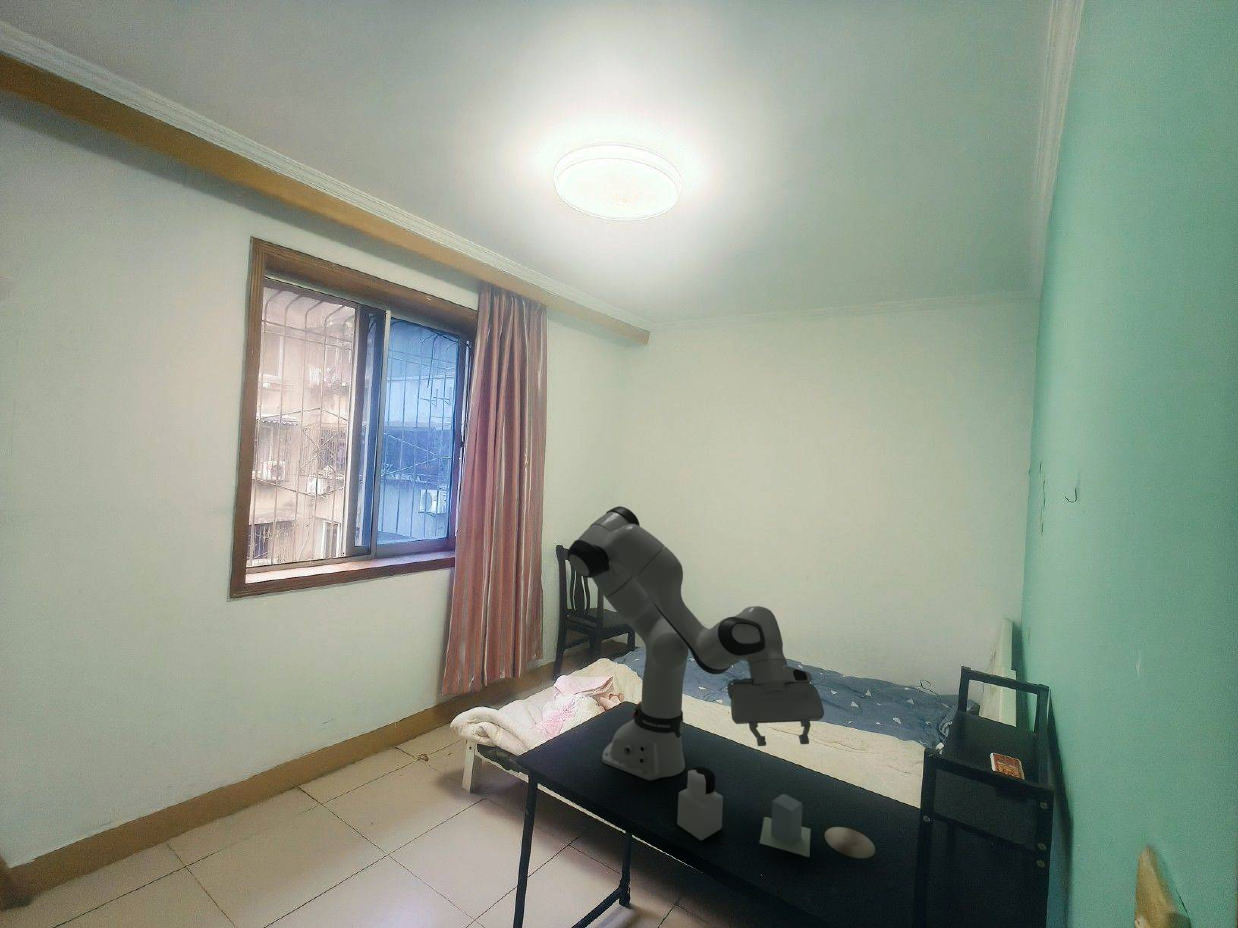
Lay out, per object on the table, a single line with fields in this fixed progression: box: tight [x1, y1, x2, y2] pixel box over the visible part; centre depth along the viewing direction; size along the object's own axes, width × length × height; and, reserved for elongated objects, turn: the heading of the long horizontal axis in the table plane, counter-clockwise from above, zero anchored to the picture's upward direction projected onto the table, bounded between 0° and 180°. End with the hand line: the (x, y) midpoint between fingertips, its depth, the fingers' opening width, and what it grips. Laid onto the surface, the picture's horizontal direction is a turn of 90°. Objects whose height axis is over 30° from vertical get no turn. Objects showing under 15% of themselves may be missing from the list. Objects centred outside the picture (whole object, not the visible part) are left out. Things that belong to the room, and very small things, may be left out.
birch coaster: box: [824, 826, 876, 859], centre depth 115 cm, size 10×10×1 cm
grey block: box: [771, 793, 803, 845], centre depth 116 cm, size 5×5×7 cm
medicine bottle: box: [676, 766, 724, 841], centre depth 118 cm, size 7×7×12 cm
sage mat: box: [759, 816, 811, 858], centre depth 116 cm, size 10×10×1 cm
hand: (783, 744), depth 114 cm, fingers open, 8 cm apart
